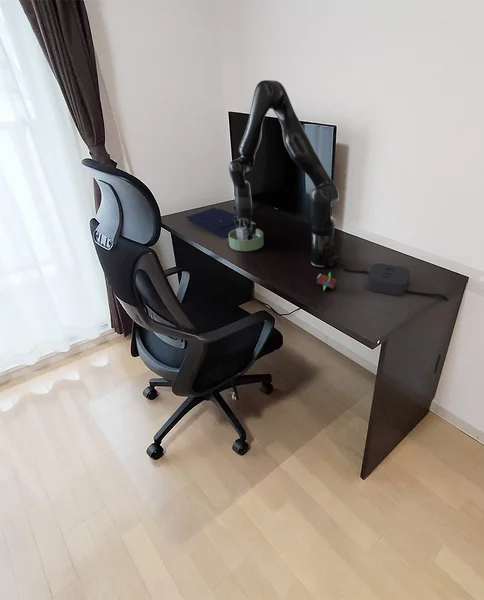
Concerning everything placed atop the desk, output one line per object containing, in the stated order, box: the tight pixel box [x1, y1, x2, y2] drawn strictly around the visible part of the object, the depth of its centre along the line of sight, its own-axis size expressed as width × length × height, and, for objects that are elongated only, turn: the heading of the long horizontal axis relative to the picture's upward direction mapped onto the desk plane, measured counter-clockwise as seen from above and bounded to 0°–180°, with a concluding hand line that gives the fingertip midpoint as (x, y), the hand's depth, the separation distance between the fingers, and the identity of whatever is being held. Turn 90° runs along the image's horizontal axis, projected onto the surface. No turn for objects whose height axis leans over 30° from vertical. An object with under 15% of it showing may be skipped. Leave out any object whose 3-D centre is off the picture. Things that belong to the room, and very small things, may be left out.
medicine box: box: [236, 226, 255, 240], centre depth 173 cm, size 8×4×9 cm, turn 143°
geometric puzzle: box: [316, 271, 338, 292], centre depth 139 cm, size 7×7×8 cm
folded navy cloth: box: [185, 207, 239, 239], centre depth 196 cm, size 24×30×4 cm
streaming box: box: [365, 262, 411, 296], centre depth 142 cm, size 14×14×5 cm
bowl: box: [227, 228, 265, 252], centre depth 174 cm, size 16×16×6 cm
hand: (246, 240), depth 174 cm, fingers closed on medicine box, 4 cm apart
